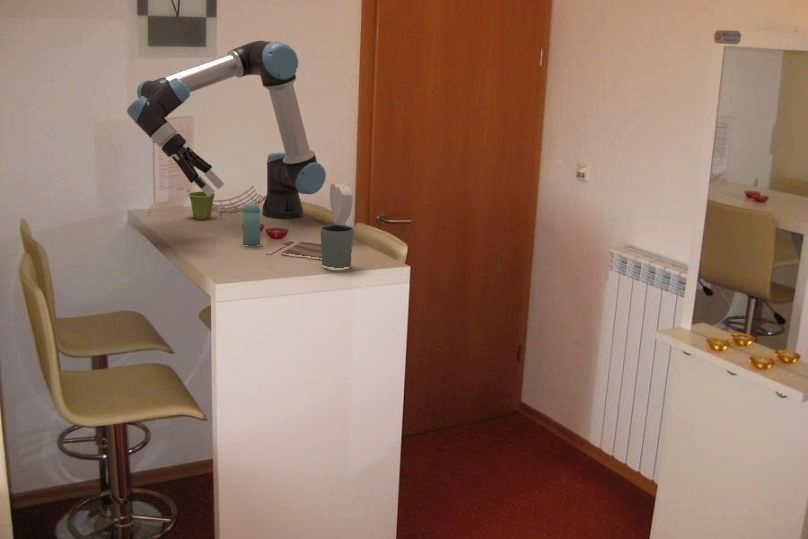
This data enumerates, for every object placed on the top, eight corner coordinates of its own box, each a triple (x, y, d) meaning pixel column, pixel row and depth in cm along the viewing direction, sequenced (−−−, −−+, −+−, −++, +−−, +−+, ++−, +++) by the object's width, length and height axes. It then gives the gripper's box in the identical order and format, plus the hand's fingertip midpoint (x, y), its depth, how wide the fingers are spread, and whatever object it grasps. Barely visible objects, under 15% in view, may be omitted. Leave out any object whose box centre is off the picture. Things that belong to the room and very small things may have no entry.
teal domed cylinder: (247, 241, 302) (247, 200, 298) (263, 243, 301) (263, 202, 297) (239, 245, 297) (239, 203, 293) (255, 247, 296) (255, 205, 292)
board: (301, 244, 303) (301, 241, 302) (341, 248, 299) (341, 246, 299) (281, 255, 288) (281, 252, 287) (323, 260, 284) (323, 257, 284)
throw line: (289, 241, 305) (289, 240, 305) (293, 242, 304) (293, 241, 304) (265, 254, 288) (265, 253, 288) (270, 254, 288) (270, 253, 288)
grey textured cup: (325, 272, 271) (326, 232, 268) (314, 263, 280) (315, 224, 277) (357, 270, 275) (359, 230, 272) (346, 261, 284) (347, 223, 281)
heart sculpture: (353, 243, 307) (354, 189, 302) (338, 243, 306) (339, 189, 301) (340, 232, 321) (342, 181, 316) (326, 232, 320) (328, 181, 315)
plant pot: (212, 221, 329) (212, 197, 327) (185, 219, 329) (185, 195, 327) (217, 215, 338) (217, 192, 336) (192, 214, 338) (191, 190, 336)
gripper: (171, 143, 303) (217, 191, 307) (149, 153, 279) (199, 205, 283) (187, 127, 302) (233, 176, 306) (166, 137, 278) (216, 189, 281)
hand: (217, 190), depth 294 cm, fingers open, 13 cm apart
